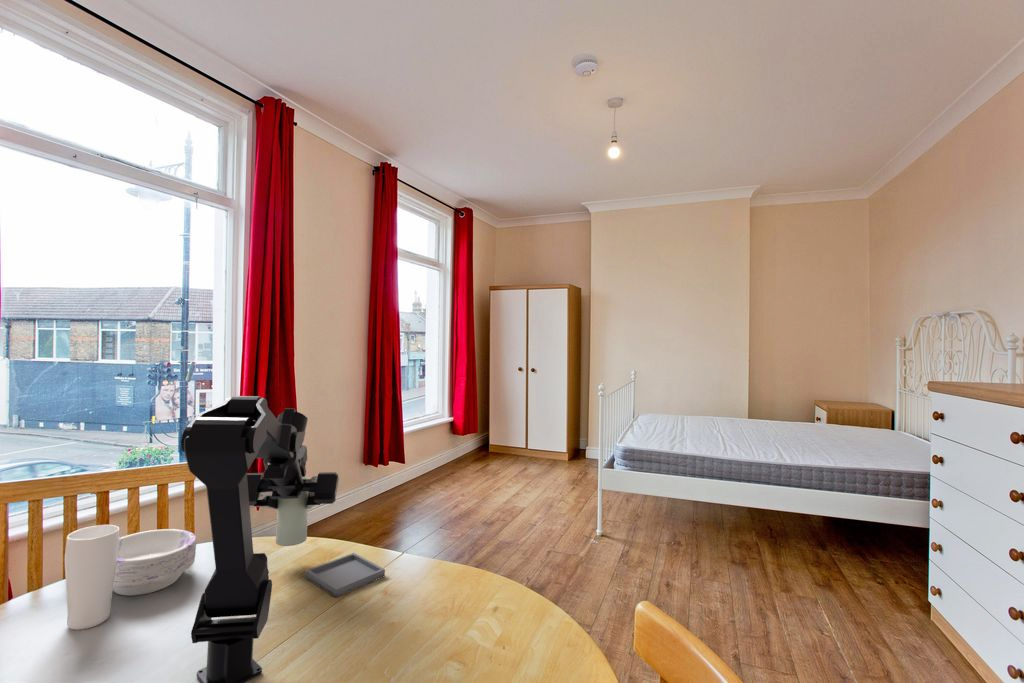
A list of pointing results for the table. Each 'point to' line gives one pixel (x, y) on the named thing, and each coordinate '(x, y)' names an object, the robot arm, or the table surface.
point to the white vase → (90, 574)
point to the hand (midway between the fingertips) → (294, 507)
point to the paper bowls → (153, 560)
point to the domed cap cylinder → (292, 520)
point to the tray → (344, 574)
